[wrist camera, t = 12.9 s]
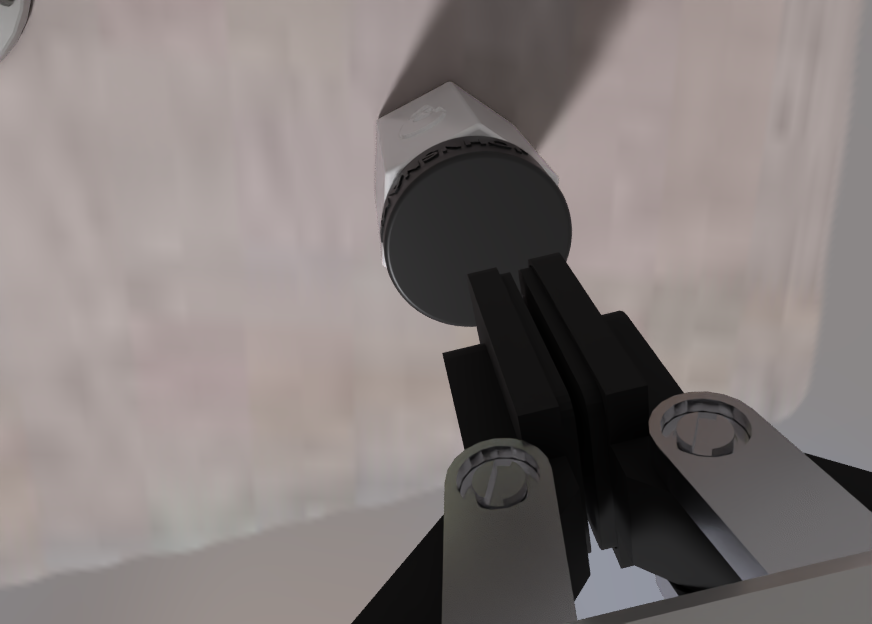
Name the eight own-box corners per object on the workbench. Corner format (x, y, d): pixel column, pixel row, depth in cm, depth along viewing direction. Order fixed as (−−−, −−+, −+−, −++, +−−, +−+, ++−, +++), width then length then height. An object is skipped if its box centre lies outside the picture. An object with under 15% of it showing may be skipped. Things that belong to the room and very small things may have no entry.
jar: (484, 56, 35) (542, 108, 25) (538, 184, 39) (607, 274, 29) (339, 134, 37) (337, 214, 26) (406, 251, 41) (427, 360, 30)
